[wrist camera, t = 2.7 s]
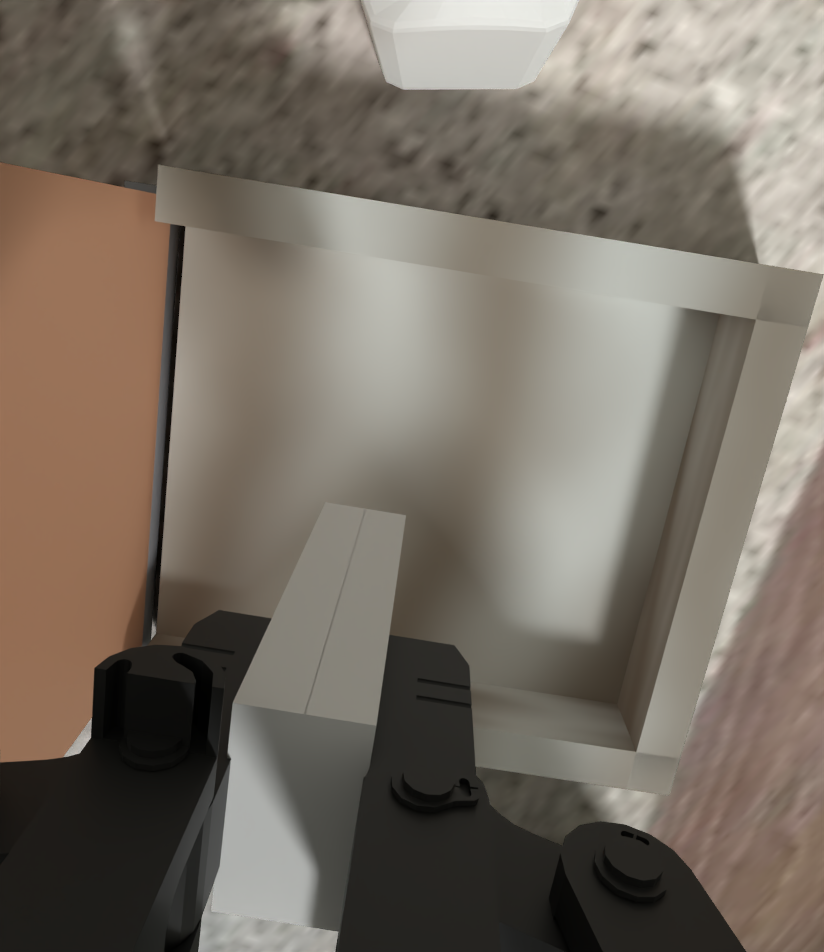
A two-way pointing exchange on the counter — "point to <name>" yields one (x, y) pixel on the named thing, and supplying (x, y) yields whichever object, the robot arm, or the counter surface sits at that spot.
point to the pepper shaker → (465, 41)
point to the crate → (480, 447)
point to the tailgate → (77, 441)
